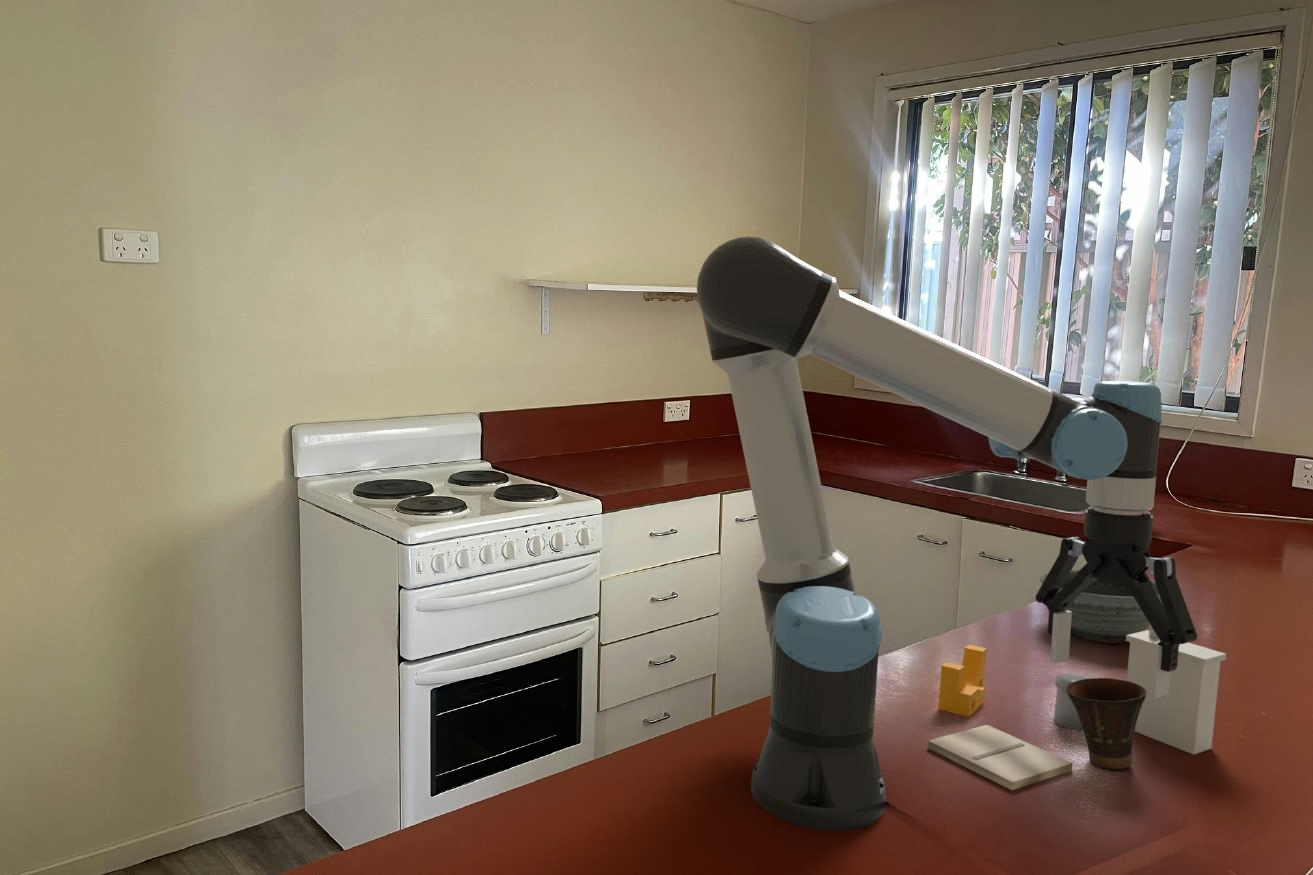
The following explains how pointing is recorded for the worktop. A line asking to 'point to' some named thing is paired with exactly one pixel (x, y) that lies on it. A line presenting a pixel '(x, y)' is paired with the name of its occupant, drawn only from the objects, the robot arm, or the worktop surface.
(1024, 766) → the board
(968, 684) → the yellow shaft support bracket
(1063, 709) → the grey knob
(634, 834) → the worktop surface
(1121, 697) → the cup
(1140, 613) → the bowl
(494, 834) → the worktop surface
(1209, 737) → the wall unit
